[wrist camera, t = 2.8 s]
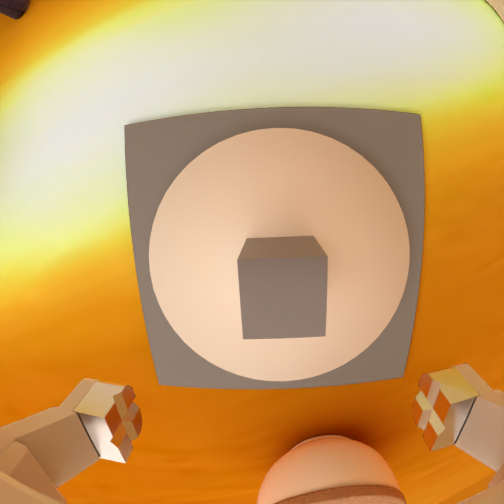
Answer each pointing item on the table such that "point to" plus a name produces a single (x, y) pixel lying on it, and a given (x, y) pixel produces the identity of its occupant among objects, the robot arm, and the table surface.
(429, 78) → the table surface
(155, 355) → the mat
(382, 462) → the lidded bowl
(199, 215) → the lid
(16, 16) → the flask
